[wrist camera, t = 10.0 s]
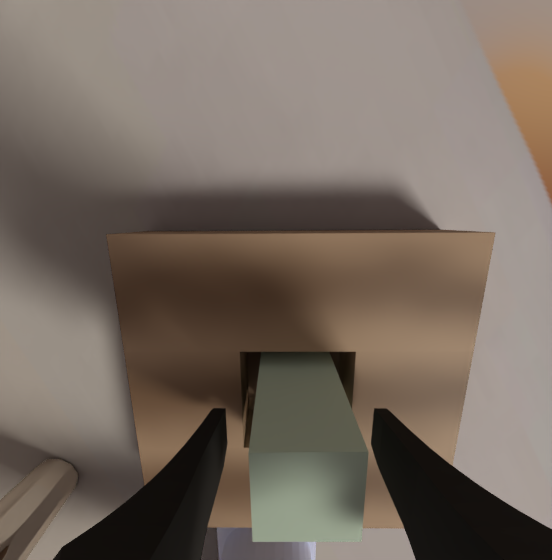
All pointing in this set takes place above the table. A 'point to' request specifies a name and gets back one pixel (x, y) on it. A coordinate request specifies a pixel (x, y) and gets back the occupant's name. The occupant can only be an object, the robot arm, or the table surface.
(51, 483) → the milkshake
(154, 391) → the socket block
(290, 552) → the robot arm
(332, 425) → the peg
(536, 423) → the table surface
